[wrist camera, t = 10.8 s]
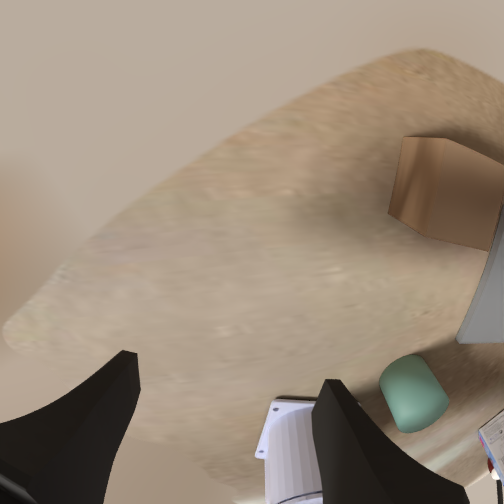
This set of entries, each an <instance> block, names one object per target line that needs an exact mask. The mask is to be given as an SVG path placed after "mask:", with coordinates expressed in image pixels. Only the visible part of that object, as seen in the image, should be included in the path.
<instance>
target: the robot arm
mask: <svg viewBox="0 0 504 504" xmlns="http://www.w3.org/2000/svg"><path fill="white" fill-rule="evenodd" d="M140 391H141V388H140V378H139V368H138V357H137V353H133V352H129V351H125V350H122V351H120V352H119V353H118V354H117V355H116V356H114V357H113V358H112V359H111V360H110V361H109V362H107V363H106V364H105V365H104V366H103V367H102V368H100V369H99V370H98V371H97V372H95V373H94V374H93V375H92V376H90V377H89V378H88V379H87V380H85V381H84V382H83V383H81V384H80V385H79V386H77V387H76V388H74V389H73V390H71V391H70V392H69V393H67V394H66V395H64V396H62V397H61V398H59V399H58V400H56V401H54V402H52V403H50V404H49V405H47V406H45V407H43V408H41V409H39V410H36V411H34V412H32V413H30V414H27V415H25V416H22V417H19V418H16V419H13V420H10V421H7V422H3V423H0V504H103V502H104V497H105V493H106V488H107V484H108V480H109V476H110V472H111V468H112V465H113V461H114V458H115V456H116V453H117V451H118V448H119V446H120V444H121V441H122V439H123V437H124V434H125V432H126V430H127V427H128V425H129V423H130V420H131V418H132V416H133V413H134V411H135V408H136V404H137V401H138V398H139V394H140ZM255 457H256V458H261V459H265V501H266V504H470V502H469V499H468V497H467V494H466V492H465V489H464V487H463V486H461V485H459V484H457V483H454V482H452V481H450V480H448V479H445V478H443V477H441V476H439V475H438V474H436V473H434V472H432V471H431V470H429V469H427V468H426V467H424V466H423V465H421V464H420V463H418V462H417V461H415V460H414V459H413V458H411V457H410V456H409V455H407V454H406V453H405V452H404V451H402V450H401V449H400V448H399V447H398V446H397V445H396V444H395V443H393V442H392V441H391V440H390V439H389V438H388V437H387V436H386V435H385V434H384V433H383V432H382V431H381V430H380V429H379V428H378V426H377V425H376V424H375V423H374V422H373V421H372V420H371V419H370V417H369V416H368V415H367V414H366V412H365V411H364V410H363V409H362V408H361V405H360V403H359V402H357V401H356V400H355V399H354V397H353V396H352V395H351V393H350V392H349V391H348V389H347V388H346V387H345V385H344V384H343V383H342V381H341V380H337V379H325V381H324V384H323V386H322V389H321V391H320V393H319V396H318V398H317V400H316V401H302V400H286V399H275V400H273V401H272V402H271V405H270V408H269V412H268V415H267V418H266V421H265V424H264V428H263V431H262V434H261V437H260V440H259V443H258V446H257V449H256V452H255Z"/></svg>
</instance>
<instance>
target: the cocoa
mask: <svg viewBox="0 0 504 504" xmlns="http://www.w3.org/2000/svg"><path fill="white" fill-rule="evenodd" d="M488 468H489V471H490V473H491V476H492V478H493V479H495V480H496V481H497V495H498V504H503V494H502V482H501V480H500V478H499V476H498V474H497V472H496V470H495V468H494V466H493V464H492V463H491V461H490V459H489V458H488Z"/></svg>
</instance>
